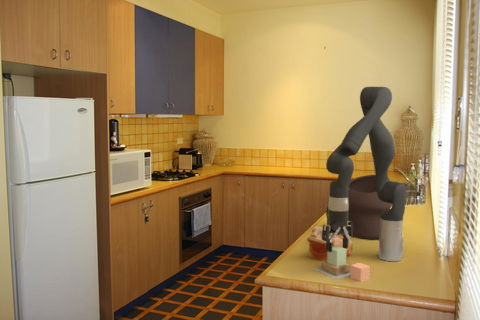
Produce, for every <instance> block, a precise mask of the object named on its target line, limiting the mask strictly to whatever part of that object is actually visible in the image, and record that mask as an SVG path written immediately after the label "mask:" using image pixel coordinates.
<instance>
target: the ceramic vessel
mask: <svg viewBox="0 0 480 320" xmlns="http://www.w3.org/2000/svg"><path fill="white" fill-rule="evenodd" d="M322 229H323V226H322V227H321V226H318V225H316V226H314V227H312V229H311V233H310V234H309V235H308V236H307V237H306V240H307V242H308V243H309V245H308V246H309V249H308V250H309V253H308V255H307V256H308V257H309V258H312V259H315V260H318V261H322V262H326V261H327V254H328V251H327V250H326V241H323V240H322ZM331 234H332V232H331ZM325 238H326V235H325ZM330 238H331V237H330ZM330 238H329V239H330ZM343 238H344V237H343V236H342V234H339V235H336V237H335V238H334V239H333V241H332V247H333V246H339V247H342V248H343V246H342V245H343ZM353 246H354V244H353V241H352V240H351V238H349V244H348V248H345V249H347V251H346V258H348V257H351V255H352V253H353Z"/></svg>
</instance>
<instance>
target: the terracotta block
mask: <svg viewBox="0 0 480 320" xmlns="http://www.w3.org/2000/svg"><path fill="white" fill-rule="evenodd" d="M349 278H350V279H353V280H355V281H358V282H361V283H362V282H364V281H368V280H370V279H371V265H367V264H365V263H362V262H358V263H357V262H356V263H354V264H351V267H350V276H349Z"/></svg>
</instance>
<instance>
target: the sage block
mask: <svg viewBox="0 0 480 320" xmlns="http://www.w3.org/2000/svg"><path fill="white" fill-rule="evenodd" d="M346 251H347V249H345V248H342V247H339V246H333V247H332V252H328V254H327V263H329V264H331V265H334V266H336V267H337V266H341V265H345V264H346V263H347V257H346Z"/></svg>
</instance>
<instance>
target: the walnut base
mask: <svg viewBox="0 0 480 320" xmlns="http://www.w3.org/2000/svg"><path fill="white" fill-rule="evenodd" d="M351 265H352V263H351V264H350V263H348V262H346V264H345V265H341V266H337V267H336V266H334V265H331V264H329V263H327V261H322V262H321V267H320V268H321V270H323V271H325V272H328V273H330V274H332V275H335V276H339V275H343V274H347V273H350V267H351Z"/></svg>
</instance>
